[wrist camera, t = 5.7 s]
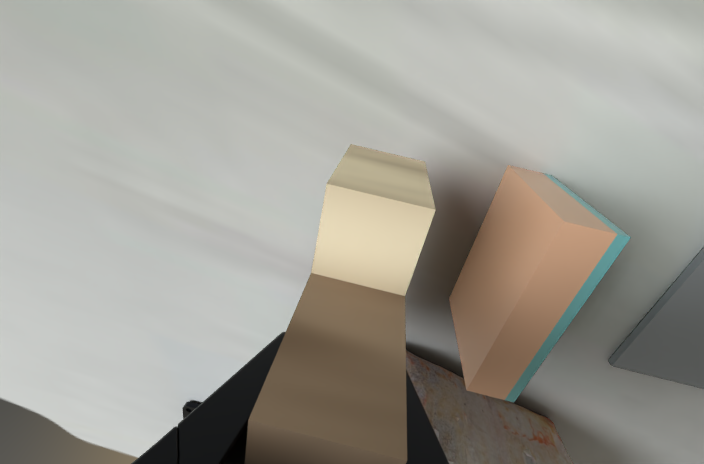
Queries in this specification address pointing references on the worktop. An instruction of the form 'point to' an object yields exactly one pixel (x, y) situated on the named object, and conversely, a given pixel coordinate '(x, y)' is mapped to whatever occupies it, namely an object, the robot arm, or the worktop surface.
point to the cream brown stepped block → (349, 324)
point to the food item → (482, 422)
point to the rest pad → (671, 333)
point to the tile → (527, 279)
